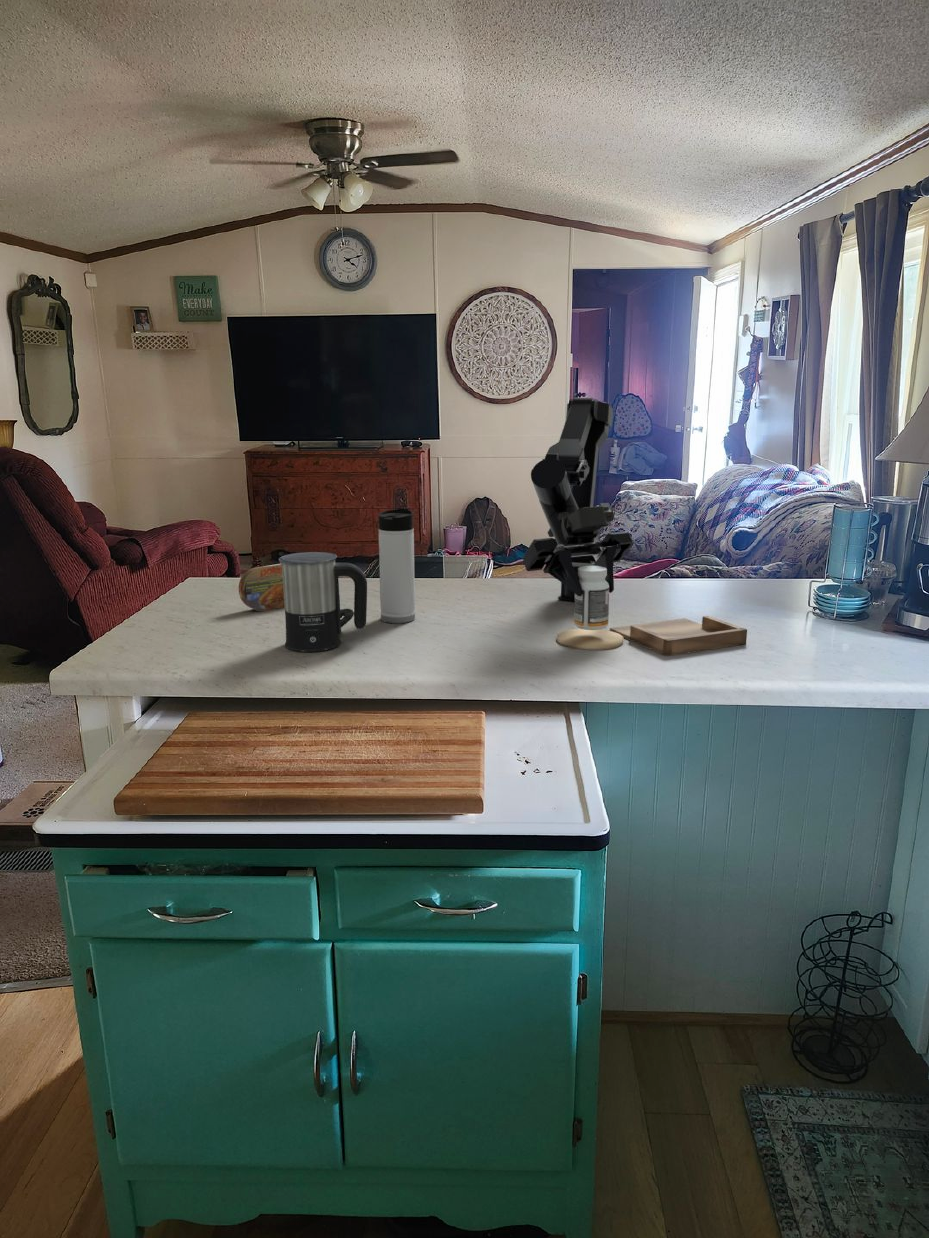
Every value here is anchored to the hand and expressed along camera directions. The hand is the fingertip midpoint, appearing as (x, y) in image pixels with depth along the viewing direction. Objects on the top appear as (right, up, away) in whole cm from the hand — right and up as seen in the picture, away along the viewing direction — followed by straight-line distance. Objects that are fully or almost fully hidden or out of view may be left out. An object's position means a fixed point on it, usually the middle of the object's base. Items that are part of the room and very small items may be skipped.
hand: (596, 593), depth 143 cm
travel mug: (-34, -4, +17) cm, 38 cm away
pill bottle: (0, -6, +3) cm, 6 cm away
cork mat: (-1, -8, +3) cm, 9 cm away
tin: (-58, -2, +27) cm, 64 cm away
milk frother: (-46, -8, +5) cm, 47 cm away
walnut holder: (+14, -7, +5) cm, 17 cm away
